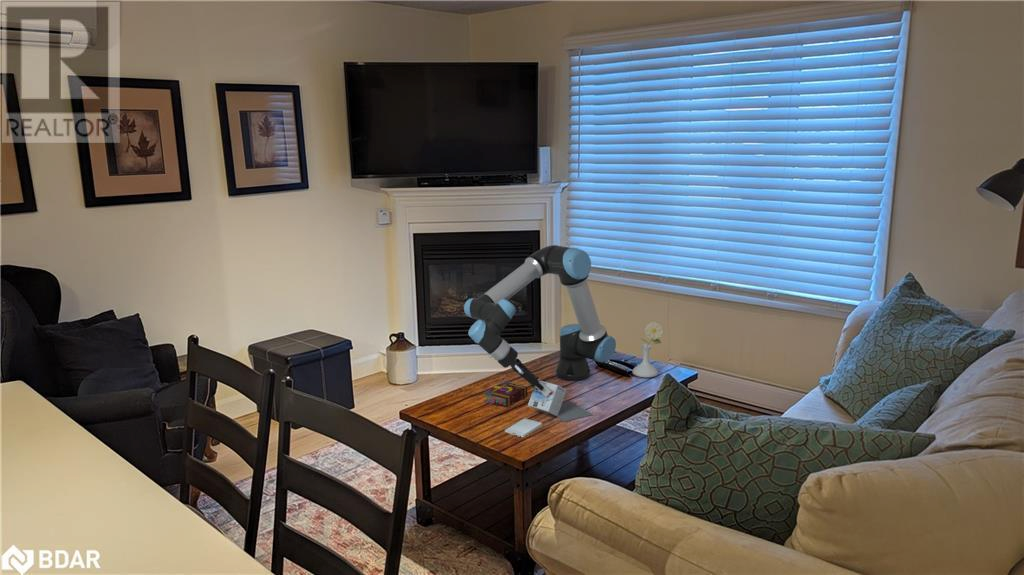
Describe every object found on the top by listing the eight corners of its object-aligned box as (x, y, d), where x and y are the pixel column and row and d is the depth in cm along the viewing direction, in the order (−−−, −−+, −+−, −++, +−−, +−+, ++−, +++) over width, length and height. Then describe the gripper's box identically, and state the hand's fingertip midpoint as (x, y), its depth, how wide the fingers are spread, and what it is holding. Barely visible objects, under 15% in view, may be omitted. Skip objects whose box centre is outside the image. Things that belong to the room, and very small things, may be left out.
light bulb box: (526, 405, 265) (536, 378, 267) (536, 410, 269) (545, 384, 272) (548, 411, 258) (558, 384, 260) (558, 416, 262) (567, 389, 265)
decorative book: (527, 396, 284) (527, 385, 283) (505, 409, 271) (505, 397, 270) (505, 391, 290) (505, 380, 289) (482, 403, 277) (482, 391, 276)
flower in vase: (629, 378, 304) (631, 323, 299) (635, 370, 314) (637, 316, 309) (659, 381, 299) (661, 326, 294) (664, 373, 309) (666, 319, 304)
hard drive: (523, 417, 259) (504, 429, 249) (542, 423, 255) (523, 434, 245) (523, 422, 260) (504, 433, 250) (542, 427, 255) (523, 439, 245)
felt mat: (569, 401, 278) (569, 400, 278) (593, 415, 264) (593, 414, 264) (542, 407, 272) (542, 407, 271) (564, 422, 258) (564, 421, 258)
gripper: (494, 355, 260) (537, 394, 266) (499, 366, 248) (544, 407, 254) (508, 341, 260) (551, 380, 266) (513, 351, 247) (558, 392, 254)
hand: (548, 393), depth 260 cm, fingers closed
